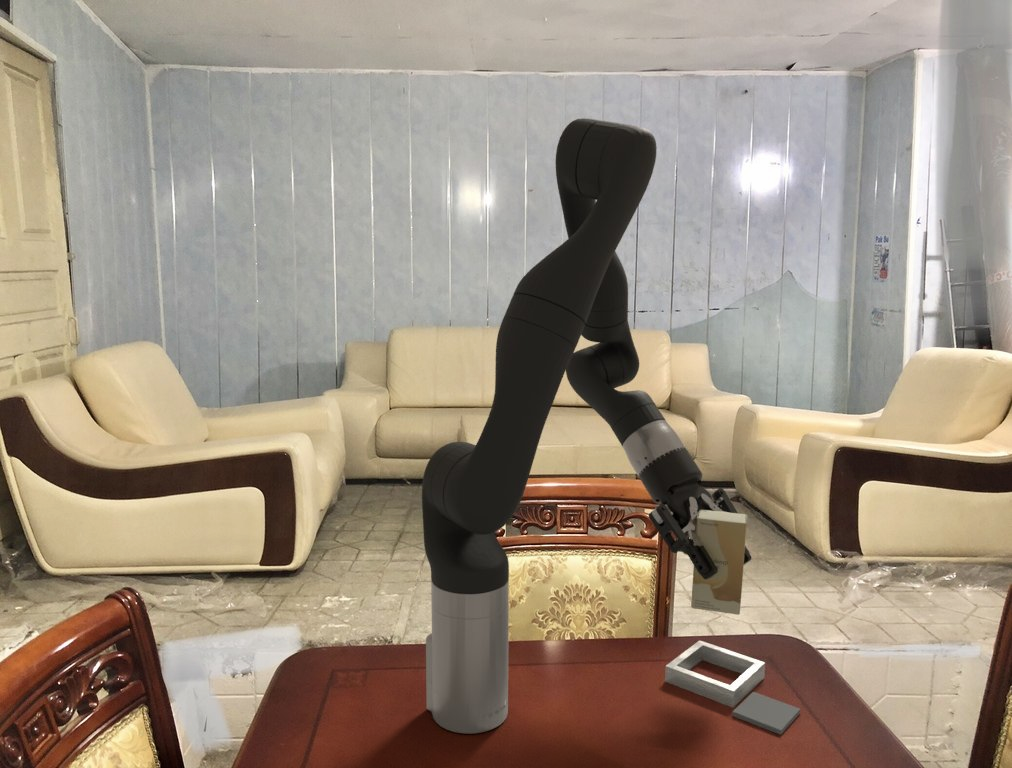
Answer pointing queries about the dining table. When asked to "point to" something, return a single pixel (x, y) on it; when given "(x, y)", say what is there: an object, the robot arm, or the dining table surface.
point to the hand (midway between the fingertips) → (729, 569)
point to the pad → (766, 712)
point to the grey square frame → (711, 688)
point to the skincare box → (721, 561)
